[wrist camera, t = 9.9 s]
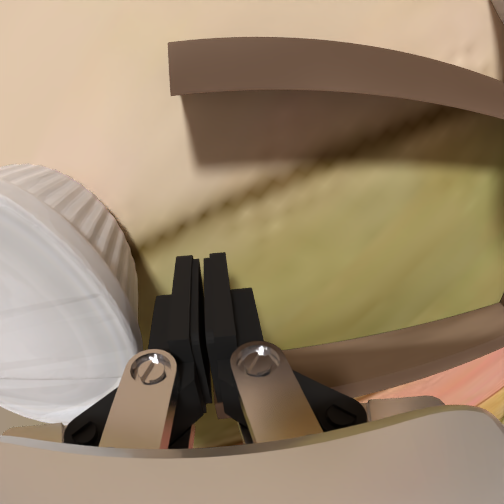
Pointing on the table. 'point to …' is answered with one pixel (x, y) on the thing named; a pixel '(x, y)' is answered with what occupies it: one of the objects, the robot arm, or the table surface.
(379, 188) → the table surface
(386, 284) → the table surface
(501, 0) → the cup
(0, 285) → the ramekin
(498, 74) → the table surface
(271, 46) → the walnut open-sided frame
